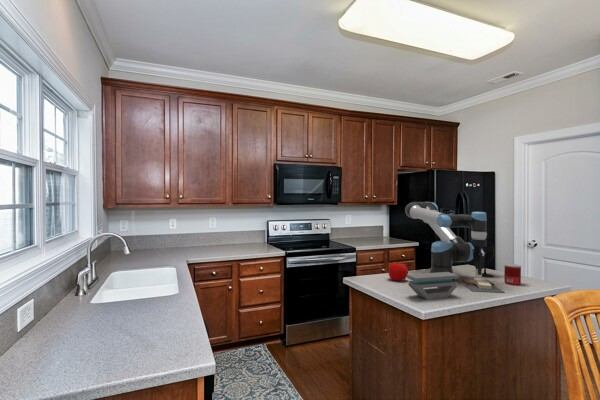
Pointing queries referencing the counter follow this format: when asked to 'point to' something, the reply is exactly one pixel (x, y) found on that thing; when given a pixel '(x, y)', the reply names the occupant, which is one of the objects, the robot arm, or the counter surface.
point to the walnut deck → (470, 281)
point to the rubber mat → (477, 289)
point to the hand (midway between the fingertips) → (478, 279)
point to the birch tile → (482, 283)
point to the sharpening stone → (433, 284)
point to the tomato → (398, 271)
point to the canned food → (512, 274)
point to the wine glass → (488, 258)
